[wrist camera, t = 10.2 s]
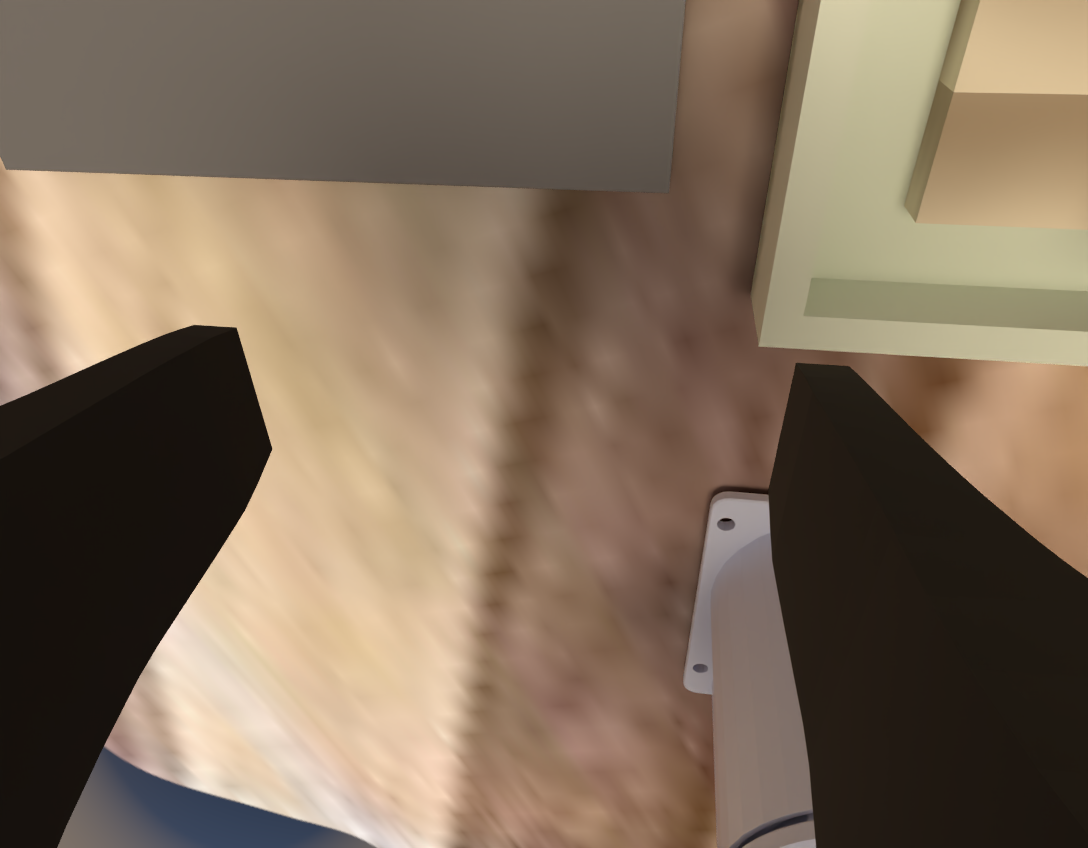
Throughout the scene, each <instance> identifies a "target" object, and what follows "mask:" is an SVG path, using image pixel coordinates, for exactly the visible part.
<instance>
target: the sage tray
mask: <svg viewBox="0 0 1088 848" xmlns="http://www.w3.org/2000/svg"><path fill="white" fill-rule="evenodd" d="M960 2H961V0H799V3H798V9H797V15H796V21H795V27H794V33H793V39H792V45H791V51H790V57H789V63H788V69H787V76H786V82H785V88H784V94H783V100H782V106H781V112H780V118H779V124H778V130H777V136H776V142H775V149H774V155H773V161H772V167H771V173H770V179H769V185H768V191H767V197H766V203H765V209H764V216H763V222H762V228H761V234H760V240H759V246H758V252H757V258H756V264H755V270H754V276H753V282H752V289H751V301H752V307H753V314H754V320H755V326H756V333H757V339H758V345H759V347H776V348H792V349H809V350H825V351H842V352H859V353H875V354H892V355H908V356H925V357H941V358H958V359H974V360H991V361H1007V362H1024V363H1040V364H1057V365H1073V366H1088V230H1081V229H1055V228H1029V227H1003V226H977V225H951V224H926V223H915V221H914V220H913V218H912V217H911V215H910V214H909V212H908V211H907V209H906V208H905V206H904V204H905V200H906V197H907V193H908V190H909V186H910V182H911V179H912V175H913V171H914V168H915V164H916V161H917V157H918V153H919V150H920V146H921V143H922V139H923V135H924V132H925V128H926V125H927V121H928V117H929V114H930V110H931V106H932V103H933V99H934V96H935V92H936V88H937V85H938V81H939V78H940V74H941V70H942V67H943V63H944V59H945V56H946V52H947V49H948V45H949V41H950V38H951V34H952V31H953V27H954V23H955V20H956V16H957V12H958V9H959V5H960Z"/></svg>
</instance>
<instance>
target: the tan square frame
mask: <svg viewBox="0 0 1088 848" xmlns="http://www.w3.org/2000/svg"><path fill="white" fill-rule="evenodd" d="M904 206H905V208H906V209H907V211H908V212H909V214H910V215H911V217H912V218H913V220H914V221H915V223H926V224H951V225H977V226H1003V227H1029V228H1055V229H1081V230H1088V0H961V2H960V5H959V9H958V12H957V16H956V20H955V23H954V27H953V31H952V34H951V38H950V41H949V45H948V49H947V52H946V56H945V59H944V63H943V67H942V70H941V74H940V78H939V81H938V85H937V88H936V92H935V96H934V99H933V103H932V106H931V110H930V114H929V117H928V121H927V125H926V128H925V132H924V135H923V139H922V143H921V146H920V150H919V153H918V157H917V161H916V164H915V168H914V171H913V175H912V179H911V182H910V186H909V190H908V193H907V197H906V200H905V204H904Z"/></svg>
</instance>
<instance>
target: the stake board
mask: <svg viewBox="0 0 1088 848" xmlns="http://www.w3.org/2000/svg"><path fill="white" fill-rule="evenodd" d="M685 2H686V0H0V157H1V159H2V161H3V164H4V166H5V168H6V170H33V171H61V172H89V173H117V174H145V175H173V176H201V177H229V178H256V179H284V180H312V181H340V182H368V183H396V184H424V185H452V186H480V187H508V188H536V189H564V190H591V191H619V192H647V193H669V189H670V177H671V166H672V154H673V142H674V130H675V119H676V107H677V95H678V84H679V72H680V60H681V48H682V37H683V25H684V13H685Z"/></svg>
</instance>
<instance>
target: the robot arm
mask: <svg viewBox="0 0 1088 848" xmlns="http://www.w3.org/2000/svg"><path fill="white" fill-rule="evenodd" d="M271 451H272V446H271V443H270V440H269V436H268V433H267V429H266V426H265V423H264V419H263V416H262V412H261V409H260V406H259V402H258V399H257V395H256V392H255V389H254V385H253V382H252V379H251V375H250V372H249V368H248V365H247V362H246V358H245V355H244V351H243V348H242V345H241V341H240V338H239V334H238V331H237V328H233V327H217V326H201V325H193V326H189V327H186V328H183V329H180V330H177V331H174V332H171V333H168V334H165V335H163V336H160V337H158V338H155V339H153V340H150V341H148V342H145V343H143V344H141V345H138V346H136V347H134V348H131V349H129V350H127V351H124V352H122V353H120V354H117V355H115V356H113V357H111V358H108V359H106V360H104V361H102V362H99V363H97V364H95V365H93V366H90V367H88V368H86V369H84V370H81V371H79V372H77V373H75V374H73V375H70V376H68V377H66V378H64V379H61V380H59V381H57V382H55V383H52V384H50V385H48V386H46V387H43V388H41V389H39V390H37V391H35V392H32V393H30V394H28V395H25V396H23V397H21V398H18V399H16V400H13V401H11V402H9V403H6V404H4V405H1V406H0V848H57V847H58V844H59V842H60V839H61V837H62V835H63V832H64V829H65V828H66V825H67V823H68V821H69V819H70V817H71V815H72V812H73V810H74V808H75V806H76V804H77V802H78V800H79V798H80V795H81V793H82V791H83V789H84V787H85V785H86V783H87V781H88V778H89V776H90V774H91V772H92V770H93V768H94V766H95V763H96V761H97V759H98V757H99V755H100V753H101V751H102V749H103V747H104V745H105V743H106V741H107V739H108V737H109V735H110V733H111V731H112V729H113V727H114V725H115V723H116V721H117V719H118V717H119V715H120V713H121V711H122V709H123V707H124V705H125V703H126V701H127V699H128V698H129V696H130V694H131V692H132V690H133V688H134V686H135V684H136V682H137V680H138V678H139V676H140V675H141V673H142V671H143V670H144V668H145V666H146V665H147V663H148V661H149V659H150V658H151V656H152V654H153V653H154V651H155V649H156V648H157V646H158V644H159V643H160V641H161V640H162V638H163V637H164V635H165V634H166V632H167V631H168V629H169V628H170V626H171V624H172V623H173V621H174V620H175V618H176V617H177V615H178V614H179V612H180V611H181V609H182V608H183V606H184V605H185V603H186V602H187V600H188V598H189V597H190V595H191V594H192V592H193V591H194V589H195V588H196V586H197V585H198V583H199V582H200V580H201V579H202V577H203V575H204V574H205V572H206V571H207V569H208V568H209V566H210V565H211V563H212V562H213V560H214V559H215V557H216V556H217V554H218V552H219V551H220V549H221V548H222V546H223V545H224V543H225V541H226V540H227V538H228V537H229V535H230V534H231V532H232V530H233V529H234V527H235V526H236V524H237V522H238V521H239V519H240V518H241V516H242V514H243V513H244V511H245V509H246V507H247V505H248V503H249V501H250V499H251V497H252V494H253V492H254V490H255V488H256V486H257V484H258V482H259V479H260V477H261V475H262V472H263V470H264V468H265V465H266V463H267V460H268V458H269V456H270V453H271ZM722 518H729V519H732V520H731V521H727V522H723V521H720V519H722ZM683 684H684V687H685V688H686V689H688V690H689V691H691V692H695V693H703V694H711V695H712V713H713V742H714V772H715V801H716V830H717V847H718V848H1088V578H1087V577H1085V576H1084V575H1083V574H1081V573H1080V572H1078V571H1077V570H1076V569H1074V568H1073V567H1071V566H1070V565H1069V564H1067V563H1066V562H1065V561H1063V560H1062V559H1061V558H1059V557H1058V556H1057V555H1056V554H1054V553H1053V552H1052V551H1050V550H1049V549H1048V548H1047V547H1045V546H1044V545H1043V544H1041V543H1040V542H1039V541H1038V540H1036V539H1035V538H1034V537H1033V536H1031V535H1030V534H1029V533H1028V532H1026V531H1025V530H1024V529H1023V528H1022V527H1021V526H1019V525H1018V524H1017V523H1016V522H1015V521H1013V520H1012V519H1011V518H1010V517H1009V516H1007V515H1006V514H1005V513H1004V512H1003V511H1001V510H1000V509H999V508H998V507H997V506H996V505H994V504H993V503H992V502H991V501H990V500H988V499H987V498H986V497H985V496H984V495H983V494H981V493H980V492H979V491H978V490H977V489H976V488H975V487H974V486H973V485H971V484H970V483H969V482H968V481H967V480H966V479H965V478H964V477H962V476H961V475H960V474H959V473H958V472H957V471H956V470H955V469H954V468H953V467H952V466H951V465H949V464H948V463H947V462H946V461H945V460H944V459H943V458H942V457H941V456H940V455H939V454H938V453H937V452H936V451H935V450H934V449H933V448H931V447H930V446H929V445H928V444H927V443H926V442H925V441H924V440H923V439H922V438H921V437H920V436H919V435H918V434H917V433H916V432H915V431H914V430H913V429H912V428H911V427H910V426H909V425H908V424H907V423H906V422H905V421H904V420H903V419H902V418H901V417H900V416H899V415H898V414H897V413H896V412H895V411H894V410H893V409H892V408H891V407H890V406H889V405H888V404H887V403H886V402H885V401H884V400H883V399H882V398H881V397H880V396H879V395H878V394H877V393H876V392H875V391H874V390H873V389H872V388H871V387H870V386H869V385H868V384H867V383H866V382H865V381H864V380H863V379H862V378H861V377H860V376H859V375H858V374H857V373H856V372H855V371H854V370H852V369H851V368H850V367H849V366H836V365H820V364H804V363H796V366H795V370H794V375H793V380H792V384H791V389H790V393H789V398H788V403H787V407H786V412H785V416H784V421H783V426H782V430H781V435H780V439H779V444H778V449H777V453H776V458H775V462H774V467H773V472H772V476H771V481H770V485H769V490H768V495H766V494H755V493H743V492H731V491H729V492H721V493H719V494H717V495H715V496H714V497H713V498H712V501H711V503H710V510H709V516H708V522H707V529H706V535H705V541H704V548H703V554H702V560H701V566H700V573H699V579H698V585H697V592H696V598H695V604H694V611H693V617H692V623H691V630H690V636H689V642H688V649H687V655H686V661H685V668H684V674H683Z"/></svg>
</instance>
